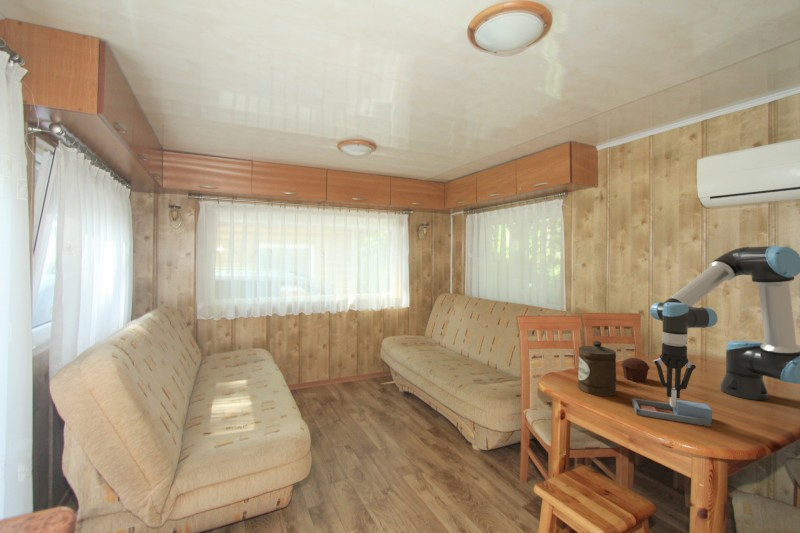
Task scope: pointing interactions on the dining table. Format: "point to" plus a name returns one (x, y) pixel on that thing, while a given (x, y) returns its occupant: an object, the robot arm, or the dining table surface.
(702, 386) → the dining table surface
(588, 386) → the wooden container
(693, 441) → the dining table surface
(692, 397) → the dining table surface
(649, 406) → the grey flat frame
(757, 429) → the dining table surface
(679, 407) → the slate block
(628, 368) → the muffin
